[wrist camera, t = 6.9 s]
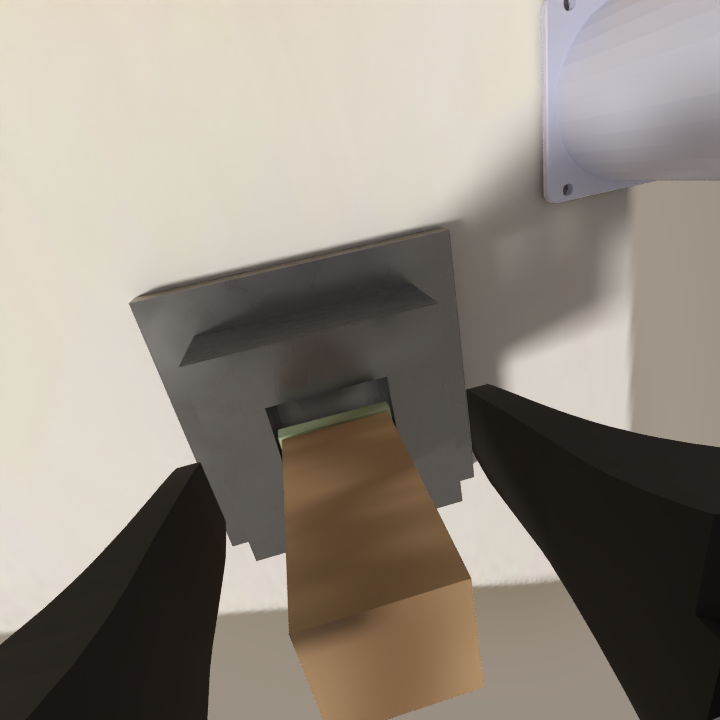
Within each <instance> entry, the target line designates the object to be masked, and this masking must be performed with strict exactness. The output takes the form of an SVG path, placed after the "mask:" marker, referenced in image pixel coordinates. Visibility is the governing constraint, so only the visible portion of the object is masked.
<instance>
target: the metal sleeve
mask: <svg viewBox="0 0 720 720" xmlns="http://www.w3.org/2000/svg"><path fill="white" fill-rule="evenodd" d="M129 305H130V307H131V310H132V312H133V314H134V317H135V319H136V321H137V324H138V326H139V328H140V331H141V333H142V335H143V338H144V340H145V342H146V345H147V347H148V349H149V352H150V354H151V356H152V359H153V361H154V363H155V366H156V368H157V370H158V373H159V375H160V377H161V380H162V382H163V384H164V387H165V389H166V391H167V394H168V396H169V398H170V401H171V403H172V405H173V408H174V410H175V412H176V415H177V417H178V419H179V422H180V424H181V426H182V429H183V431H184V433H185V436H186V438H187V441H188V443H189V445H190V448H191V450H192V452H193V455H194V457H195V459H196V462H197V463H198V462H201V465H202V467H203V469H204V472H205V474H206V476H207V479H208V481H209V483H210V486H211V488H212V490H213V493H214V495H215V497H216V500H217V502H218V504H219V506H220V509H221V511H222V513H223V516H224V518H225V520H226V532H227V534H228V536H229V539H230V541H231V543H232V546H235V545H239V544H242V543H246V542H249V544H250V546H251V549H252V551H253V554H254V556H255V559H256V561H258V560H262V559H265V558H269V557H272V556H276V555H279V554H282V553H286V539H285V513H284V486H283V460H282V448H281V445H280V442H279V439H278V430H279V429H283V428H286V427H290V426H294V425H298V424H302V423H305V422H309V421H313V420H317V419H320V418H324V417H328V416H332V415H336V414H339V413H343V412H347V411H351V410H354V409H358V408H362V407H366V406H370V405H373V404H377V403H381V402H385V401H386V402H387V404H388V406H389V407H390V411H391V416H392V421H393V423H394V425H395V427H396V429H397V431H398V433H399V435H400V437H401V439H402V441H403V443H404V445H405V447H406V449H407V451H408V453H409V455H410V457H411V459H412V461H413V463H414V465H415V467H416V469H417V471H418V473H419V475H420V477H421V479H422V481H423V483H424V485H425V487H426V489H427V491H428V493H429V495H430V497H431V499H432V501H433V503H434V505H435V507H436V508H440V507H443V506H447V505H450V504H454V503H457V502H460V501H462V493H461V485H460V481H462V480H465V479H469V478H472V477H474V471H473V461H472V451H471V441H470V431H469V422H468V412H467V402H466V392H465V382H464V372H463V362H462V353H461V343H460V333H459V323H458V313H457V303H456V293H455V284H454V274H453V264H452V254H451V244H450V234H449V230H448V229H444V228H437V229H433V230H429V231H424V232H420V233H415V234H411V235H407V236H402V237H398V238H393V239H389V240H385V241H380V242H376V243H372V244H367V245H363V246H358V247H354V248H350V249H345V250H341V251H337V252H332V253H328V254H323V255H319V256H315V257H310V258H306V259H302V260H297V261H293V262H288V263H284V264H280V265H275V266H271V267H267V268H262V269H258V270H253V271H249V272H245V273H240V274H236V275H231V276H227V277H223V278H218V279H214V280H210V281H205V282H201V283H196V284H192V285H188V286H183V287H179V288H175V289H170V290H166V291H161V292H157V293H153V294H148V295H144V296H140V297H136V298H134V299H133V300H132V301H131V302H130V303H129Z"/></svg>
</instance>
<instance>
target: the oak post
mask: <svg viewBox="0 0 720 720" xmlns="http://www.w3.org/2000/svg"><path fill="white" fill-rule="evenodd" d="M278 439H279V442H280V445H281V448H282V460H283V486H284V513H285V539H286V565H287V591H288V618H289V635H290V638H291V641H292V643H293V646H294V648H295V651H296V653H297V655H298V658H299V661H300V663H301V666H302V668H303V671H304V673H305V676H306V678H307V681H308V683H309V686H310V688H311V691H312V693H313V695H314V698H315V701H316V703H317V706H318V708H319V711H320V713H321V716H322V718H323V720H388V719H391V718H394V717H396V716H399V715H402V714H405V713H408V712H411V711H414V710H417V709H420V708H423V707H426V706H429V705H432V704H435V703H438V702H441V701H444V700H447V699H450V698H453V697H456V696H459V695H462V694H465V693H468V692H471V691H474V690H477V689H480V688H483V687H484V681H483V673H482V664H481V656H480V648H479V640H478V632H477V622H476V615H475V606H474V597H473V589H472V581H471V577H470V575H469V573H468V571H467V569H466V567H465V565H464V563H463V561H462V559H461V557H460V555H459V553H458V551H457V549H456V547H455V545H454V543H453V541H452V539H451V537H450V535H449V533H448V531H447V529H446V527H445V525H444V523H443V521H442V519H441V517H440V515H439V513H438V511H437V509H436V507H435V505H434V503H433V501H432V499H431V497H430V495H429V493H428V491H427V489H426V487H425V485H424V483H423V481H422V479H421V477H420V475H419V473H418V471H417V469H416V467H415V465H414V463H413V461H412V459H411V457H410V455H409V453H408V451H407V449H406V447H405V445H404V443H403V441H402V439H401V437H400V435H399V433H398V431H397V429H396V427H395V425H394V423H393V421H392V416H391V411H390V407H389V406H388V404H387V402H386V401H385V402H381V403H377V404H373V405H370V406H366V407H362V408H358V409H354V410H351V411H347V412H343V413H339V414H336V415H332V416H328V417H324V418H320V419H317V420H313V421H309V422H305V423H302V424H298V425H294V426H290V427H286V428H283V429H279V430H278Z"/></svg>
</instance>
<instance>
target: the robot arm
mask: <svg viewBox="0 0 720 720" xmlns="http://www.w3.org/2000/svg"><path fill="white" fill-rule="evenodd" d="M568 1H569V5H570V6H569V10H568V11H566V9H565V8H564V5H563V3H564V0H544V1H543V3H542V8H541V36H542V112H543V188H544V198H545V200H546V201H547V202H549V203H561V202H565V201H569V200H574V199H578V198H582V197H587V196H591V195H595V194H600V193H604V192H609V191H613V190H617V189H622V188H626V187H630V186H635V185H639V184H644V183H648V182H652V181H656V180H720V0H568ZM565 185H567V186H568V191H567V193H566V194H565V195H564V194H563V187H564V186H565ZM466 394H467V403H468V413H469V422H470V431H471V441H472V450H473V453H474V455H475V456H476V458H477V460H478V462H479V464H480V466H481V467H482V469H483V471H484V473H485V474H486V476H487V478H488V479H489V481H490V483H491V484H492V485H493V487H494V488H495V489H496V491H497V492H498V493H499V495H500V496H501V497H502V499H503V500H504V501H505V503H506V504H507V505H508V507H509V508H510V509H511V511H512V512H513V513H514V515H515V516H516V517H517V519H518V520H519V521H520V523H521V524H522V525H523V526H524V528H525V529H526V530H527V532H528V533H529V534H530V536H531V537H532V538H533V540H534V541H535V542H536V544H537V545H538V546H539V548H540V549H541V550H542V552H543V553H544V555H545V556H546V558H547V559H548V561H549V562H550V563H551V565H552V567H553V568H554V570H555V572H556V573H557V575H558V576H559V578H560V580H561V581H562V583H563V585H564V586H565V588H566V589H567V591H568V593H569V594H570V596H571V598H572V599H573V601H574V603H575V604H576V606H577V608H578V610H579V611H580V613H581V615H582V616H583V618H584V620H585V621H586V623H587V625H588V627H589V628H590V630H591V632H592V634H593V635H594V637H595V639H596V640H597V642H598V644H599V646H600V647H601V649H602V651H603V653H604V655H605V656H606V658H607V660H608V662H609V663H610V666H611V667H612V669H613V671H614V673H615V674H616V676H617V678H618V680H619V682H620V683H621V685H622V687H623V689H624V691H625V692H626V694H627V696H628V698H629V700H630V702H631V704H632V706H633V708H634V709H635V711H636V713H637V715H638V717H639V719H640V720H720V447H714V446H707V445H699V444H692V443H686V442H681V441H675V440H669V439H663V438H658V437H653V436H647V435H643V434H638V433H634V432H630V431H626V430H622V429H618V428H614V427H610V426H606V425H602V424H599V423H595V422H592V421H589V420H586V419H583V418H579V417H576V416H573V415H570V414H567V413H564V412H561V411H558V410H556V409H553V408H550V407H547V406H545V405H542V404H539V403H537V402H534V401H532V400H529V399H526V398H524V397H521V396H519V395H516V394H514V393H511V392H509V391H506V390H503V389H501V388H498V387H495V386H492V385H489V384H486V385H482V386H478V387H474V388H471V389H467V390H466ZM225 559H226V520H225V518H224V516H223V513H222V511H221V509H220V506H219V504H218V502H217V500H216V497H215V495H214V493H213V490H212V488H211V486H210V483H209V481H208V479H207V476H206V474H205V472H204V469H203V467H202V465H201V462H198V463H195V464H191V465H187V466H184V467H180V468H176V469H175V470H174V471H173V472H172V473H171V475H170V476H169V477H168V478H167V479H166V480H165V481H164V482H163V484H162V485H161V486H160V487H159V488H158V489H157V491H156V492H155V493H154V494H153V495H152V497H151V498H150V499H149V500H148V501H147V502H146V504H145V505H144V506H143V507H142V508H141V509H140V511H139V512H138V513H137V514H136V515H135V516H134V518H133V519H132V520H131V521H130V522H129V523H128V525H127V526H126V527H125V528H124V529H123V530H122V531H121V532H120V533H119V534H118V536H117V537H116V538H115V539H114V540H113V541H112V542H111V543H110V544H109V545H108V546H107V547H106V548H105V550H104V551H103V552H102V553H101V554H100V555H99V556H98V557H97V558H96V559H95V560H94V561H93V562H92V563H91V564H90V565H89V566H88V567H87V568H86V569H85V570H84V571H83V572H82V573H81V574H80V575H79V576H78V577H77V578H76V579H75V580H74V581H73V582H72V583H71V584H70V585H69V586H68V587H67V588H66V589H65V590H63V591H62V592H61V593H60V594H59V595H58V596H57V597H56V598H55V599H54V600H53V601H52V602H50V603H49V604H48V605H47V606H46V607H45V608H44V609H43V610H41V611H40V612H39V613H38V614H37V615H35V616H34V617H33V618H32V619H31V620H29V621H28V622H27V623H26V624H25V625H23V626H22V627H21V628H20V629H19V630H17V631H16V632H15V633H14V634H13V635H11V636H10V637H9V638H8V639H7V640H5V641H4V642H3V643H2V644H1V645H0V720H207V715H208V696H209V677H210V664H211V655H212V646H213V640H214V633H215V627H216V620H217V614H218V607H219V601H220V594H221V588H222V581H223V574H224V567H225Z"/></svg>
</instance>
